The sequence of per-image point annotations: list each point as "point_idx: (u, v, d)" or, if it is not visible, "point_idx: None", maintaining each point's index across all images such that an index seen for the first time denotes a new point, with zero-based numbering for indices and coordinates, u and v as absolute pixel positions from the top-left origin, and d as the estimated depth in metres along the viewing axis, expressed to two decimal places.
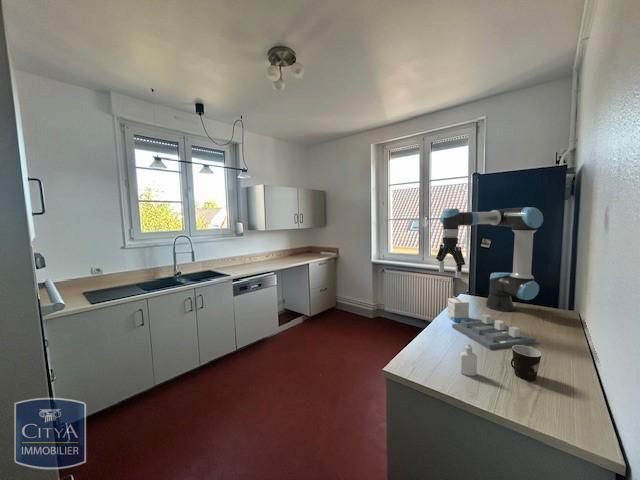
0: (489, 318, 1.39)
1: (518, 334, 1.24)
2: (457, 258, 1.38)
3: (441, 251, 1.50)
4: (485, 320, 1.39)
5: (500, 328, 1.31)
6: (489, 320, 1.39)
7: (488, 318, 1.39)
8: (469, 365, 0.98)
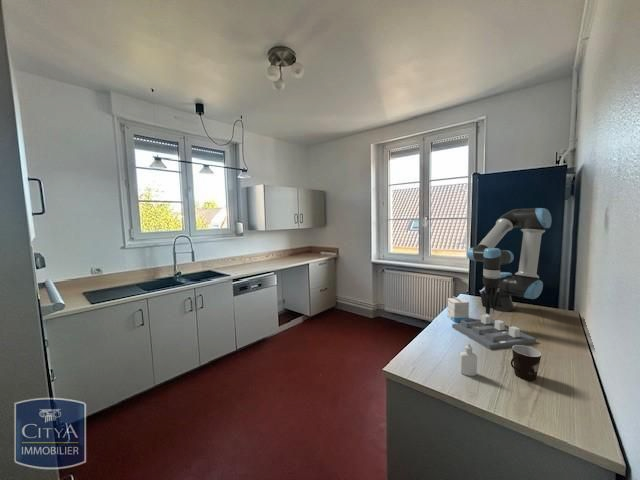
0: (488, 318, 1.39)
1: (518, 334, 1.24)
2: None
3: None
4: (484, 320, 1.39)
5: (500, 328, 1.31)
6: (488, 320, 1.39)
7: (488, 318, 1.39)
8: (469, 365, 0.98)
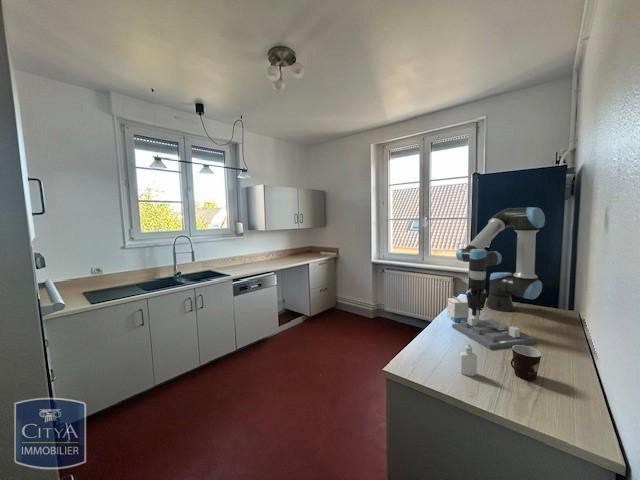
0: (474, 320, 1.37)
1: (518, 334, 1.24)
2: None
3: None
4: (470, 322, 1.37)
5: (500, 328, 1.31)
6: (474, 322, 1.37)
7: (474, 320, 1.37)
8: (469, 365, 0.98)
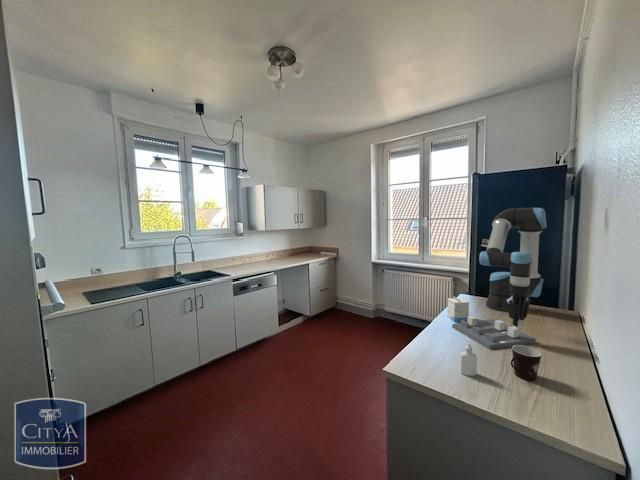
0: (474, 320, 1.37)
1: (517, 334, 1.23)
2: None
3: None
4: (470, 322, 1.37)
5: (500, 328, 1.31)
6: (474, 322, 1.37)
7: (474, 320, 1.37)
8: (469, 365, 0.98)
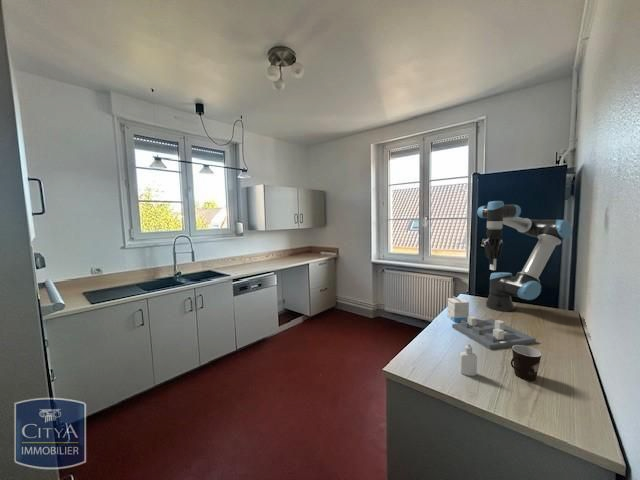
0: (474, 320, 1.37)
1: (502, 336, 1.22)
2: None
3: None
4: (470, 322, 1.37)
5: (500, 328, 1.31)
6: (474, 322, 1.37)
7: (474, 320, 1.37)
8: (469, 365, 0.98)
